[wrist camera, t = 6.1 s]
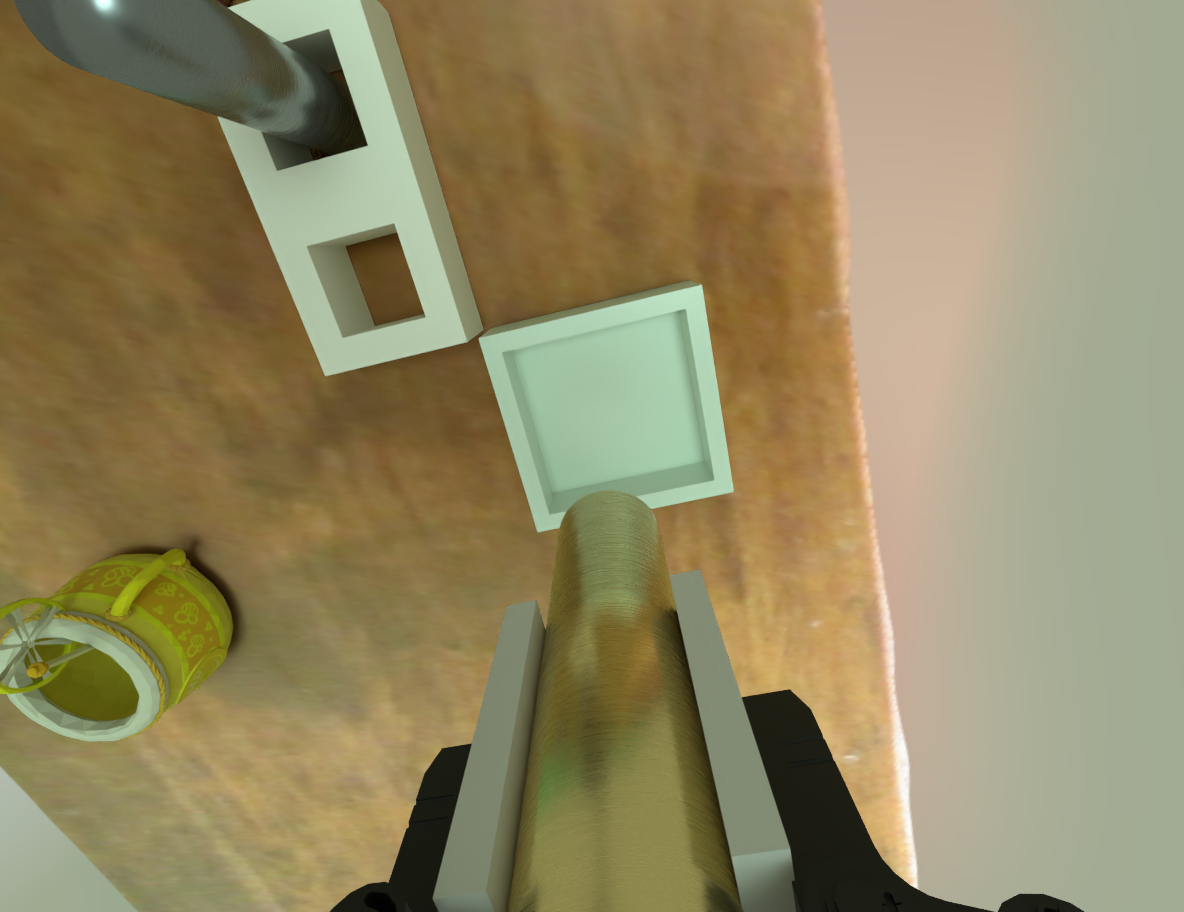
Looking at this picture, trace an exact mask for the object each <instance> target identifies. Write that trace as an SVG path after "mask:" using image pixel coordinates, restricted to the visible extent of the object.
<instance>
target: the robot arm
mask: <svg viewBox="0 0 1184 912" xmlns="http://www.w3.org/2000/svg"><path fill="white" fill-rule="evenodd" d="M669 576H670V581H671V586H672V591H673V596H674V601H675V606H676V611H677V615H678V620H679V624H680V629H681V633H682V638H683V642H684V647H685V652H686V656H687V661H688V665H689V670H690V674H691V679H692V683H693V688H694V692H695V697H696V702H697V706H698V711H699V715H700V720H701V724H702V729H703V733H704V738H705V743H706V747H707V752H708V756H709V761H710V765H711V770H712V774H713V779H714V783H715V788H716V793H717V797H718V802H719V806H720V811H721V815H722V820H723V824H724V829H725V834H726V838H727V843H728V847H729V852H730V856H731V861H732V865H733V870H734V874H735V879H736V884H737V888H738V893H739V897H740V902H741V906H742V909H743V911H744V912H993V911H988V910H984V909H979V908H975V907H970V906H966V905H961V904H957V903H952V902H948V901H944V900H941V899H938V898H935V897H932V896H929V895H927V894H925V893H923V892H921V891H920V890H918V889H916V888H914V887H912V886H910V885H909V884H908V883H907V882H905V881H904V880H903V879H902V878H900V877H899V876H898V875H897V874H895V873H894V872H893V871H892V869H891V868H890V867H889V866H888V865H887V864H886V863H885V862H884V860H883V859H882V858H881V856H880V854H879V853H878V851H877V849H876V848H875V846H874V844H873V842H872V840H871V838H870V836H869V834H868V831H867V829H866V827H865V825H864V823H863V821H862V819H861V816H860V814H859V812H858V810H857V808H856V806H855V803H854V801H853V799H852V797H851V795H850V793H849V791H848V788H847V786H846V784H845V782H844V780H843V778H842V776H841V773H840V771H839V769H838V767H837V765H836V763H835V761H834V760H833V757H832V754H831V752H830V750H829V748H828V745H827V743H826V741H825V739H824V738H823V735H822V733H821V730H820V728H819V726H818V724H817V722H816V720H815V717H814V715H813V713H812V711H811V709H810V708H809V707H808V706H807V705H806V704H805V703H804V702H803V701H801V700H800V699H799V698H798V697H797V696H796V695H795V694H794V693H793V692H792V691H791V690H790V689H789V690H783V691H777V692H771V693H765V694H759V695H753V696H747V697H741V694H740V691H739V688H738V685H737V682H736V679H735V676H734V673H733V670H732V666H731V663H730V660H729V657H728V654H727V651H726V648H725V645H724V642H723V639H722V635H721V632H720V629H719V626H718V623H717V620H716V617H715V614H714V611H713V608H712V604H711V601H710V598H709V595H708V592H707V589H706V586H705V583H704V580H703V577H702V573H701V570H696V571H690V572H685V573H679V574H674V575H669ZM545 632H546V630H545V627H544V623H543V620H542V617H541V614H540V610H539V607H538V604H537V601H536V600H535V601H530V602H524V603H519V604H513V605H508V606H507V608H506V611H505V615H504V619H503V623H502V627H501V631H500V635H499V639H498V643H497V647H496V651H495V655H494V659H493V663H492V667H491V671H490V675H489V678H488V682H487V686H486V690H485V694H484V698H483V702H482V706H481V710H480V714H479V718H478V722H477V726H476V730H475V734H474V738H473V741H472V744H466V745H460V746H454V747H448V748H442V750H441V751H440V752H439V754H438V755H437V757H436V758H435V759H434V761H433V762H432V764H431V765H430V767H429V768H428V769H427V771H426V772H425V774H424V777H423V780H422V783H421V786H420V789H419V792H418V795H417V799H416V805H414V808H413V811H412V814H411V817H410V820H409V828H407V829H406V832H405V835H404V838H403V841H402V844H401V847H400V850H399V853H398V856H397V859H396V862H395V865H394V868H393V871H392V874H391V877H390V880H389V883H387V882H380V883H371V884H367V885H365V886H363V887H361V888H359V889H357V890H355V891H353V892H351V893H350V894H348V895H347V896H346V897H345V898H344V899H343V900H342V901H341V902H339V903H338V904H337V905H336V906H335V907H334V908H333V909H332V910H331V911H330V912H508V906H509V898H510V891H511V884H512V876H513V869H514V861H515V854H516V847H517V839H518V832H519V824H520V817H521V810H522V802H523V795H524V787H525V780H526V773H527V765H528V758H529V750H530V743H531V736H532V728H533V721H534V714H535V706H536V699H537V691H538V684H539V677H540V669H541V662H542V654H543V647H544V640H545ZM998 912H1084V911H1082V910H1081V909H1079V908H1077V907H1076V906H1074V905H1073V904H1071V903H1069V902H1066V901H1062V900H1059V899H1057V898H1053V897H1051V896H1047V895H1045V894H1018V895H1016V896H1014V897H1012V898H1011V899H1009V900H1007V901H1005V902H1003V903H1002V904H1001V906H1000V908H999V910H998Z"/></svg>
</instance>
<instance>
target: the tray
mask: <svg viewBox="0 0 1184 912" xmlns="http://www.w3.org/2000/svg"><path fill="white" fill-rule="evenodd" d="M478 339H479V342H480V345H481V349H482V352H483V355H484V358H485V362H486V365H487V368H488V372H489V375H490V378H491V381H492V385H493V388H494V391H495V394H496V398H497V401H498V404H499V408H500V411H501V414H502V417H503V421H504V424H505V427H506V430H507V434H508V437H509V440H510V443H511V447H512V450H513V453H514V457H515V460H516V463H517V466H518V470H519V473H520V476H521V479H522V483H523V486H524V489H525V492H526V496H527V499H528V502H529V506H530V509H531V512H532V515H533V519H534V522H535V525H536V528H537V532H542V531H547V530H551V529H556V528H560V524H561V521H562V519H563V517H564V515H565V513H566V512H567V510H568V509H569V508H570V507H571V506H572V505H573V504H574V503H575V502H576V501H578V500H579V499H580V498H582V497H584V496H586V495H588V494H591V493H594V492H598V491H604V490H614V491H621V492H626V493H628V494H631V495H633V496H635V497H637V498H639V499H640V500H642V501H643V502H644V503H645V504H646V505H648V507H649V508H650V509H653V508H658V507H663V506H668V505H673V504H678V503H682V502H687V501H692V500H697V499H702V498H707V497H711V496H716V495H721V494H726V493H731V492H734V489H733V483H732V476H731V470H730V463H729V457H728V450H727V444H726V437H725V431H724V424H723V418H722V412H721V405H720V399H719V392H718V386H717V379H716V373H715V366H714V360H713V353H712V347H711V341H710V334H709V328H708V321H707V315H706V308H705V302H704V295H703V289H702V285H701V284H699V283H696V282H693V281H690V280H688V281H684V282H679V283H675V284H671V285H667V286H663V287H659V288H655V289H650V290H646V291H642V292H638V293H634V294H630V295H626V296H621V297H617V298H613V299H609V300H605V301H601V302H597V303H593V304H588V305H584V306H580V307H576V308H572V309H568V310H564V311H559V312H555V313H551V314H547V315H543V316H539V317H535V318H531V319H526V320H522V321H518V322H514V323H510V324H506V325H502V326H497V327H493V328H491V329H490V330H488V331H487V332H486V333H485V334H483V335H482V336H481V337H480V338H478Z"/></svg>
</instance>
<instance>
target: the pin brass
mask: <svg viewBox="0 0 1184 912" xmlns="http://www.w3.org/2000/svg"><path fill="white" fill-rule="evenodd" d="M669 575H670V574H669V569H668V565H667V560H666V556H665V552H664V547H663V543H662V538H661V534H660V529H659V525H658V522H657V519H656V517H655V515H654V513H653V512H652V510H651V509H650V508H649V507H648V505H646V504H645V503H644V502H643V501H642V500H640V499H639V498H637V497H635V496H633V495H631V494H628V493H626V492H621V491H614V490H604V491H598V492H594V493H591V494H588V495H586V496H584V497H582V498H580V499H579V500H578V501H576V502H575V503H574V504H573V505H572V506H571V507H570V508H569V509H568V510H567V512H566V513H565V515H564V517H563V519H562V521H561V524H560V529H559V536H558V543H557V551H556V558H555V566H554V573H553V580H552V588H551V595H550V603H549V610H548V617H547V625H546V632H545V640H544V647H543V654H542V662H541V669H540V677H539V684H538V691H537V699H536V706H535V714H534V721H533V728H532V736H531V743H530V750H529V758H528V765H527V773H526V780H525V787H524V795H523V802H522V810H521V817H520V824H519V832H518V839H517V847H516V854H515V861H514V869H513V876H512V884H511V891H510V898H509V906H508V912H744V911H743V909H742V906H741V902H740V897H739V893H738V888H737V884H736V879H735V874H734V870H733V865H732V861H731V856H730V852H729V847H728V843H727V838H726V834H725V829H724V824H723V820H722V815H721V811H720V806H719V802H718V797H717V793H716V788H715V783H714V779H713V774H712V770H711V765H710V761H709V756H708V752H707V747H706V743H705V738H704V733H703V729H702V724H701V720H700V715H699V711H698V706H697V702H696V697H695V692H694V688H693V683H692V679H691V674H690V670H689V665H688V661H687V656H686V652H685V647H684V642H683V638H682V633H681V629H680V624H679V620H678V615H677V611H676V606H675V601H674V596H673V591H672V586H671V581H670V576H669Z"/></svg>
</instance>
